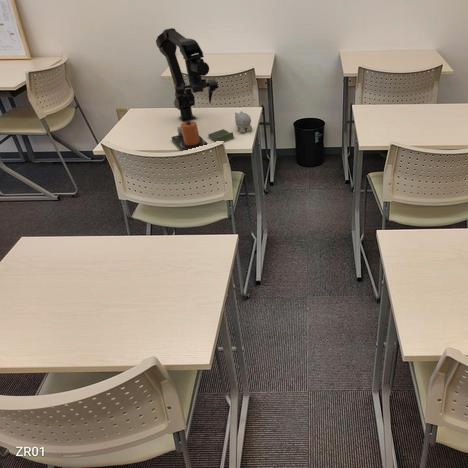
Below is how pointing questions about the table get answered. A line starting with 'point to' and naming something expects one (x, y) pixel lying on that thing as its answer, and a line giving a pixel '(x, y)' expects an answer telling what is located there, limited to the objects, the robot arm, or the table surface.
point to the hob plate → (192, 145)
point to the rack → (221, 135)
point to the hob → (179, 139)
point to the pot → (190, 133)
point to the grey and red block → (179, 131)
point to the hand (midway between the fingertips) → (200, 104)
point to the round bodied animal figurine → (243, 122)
